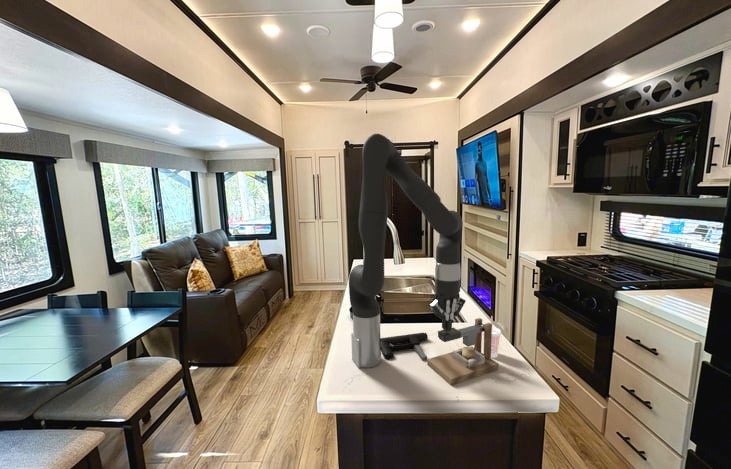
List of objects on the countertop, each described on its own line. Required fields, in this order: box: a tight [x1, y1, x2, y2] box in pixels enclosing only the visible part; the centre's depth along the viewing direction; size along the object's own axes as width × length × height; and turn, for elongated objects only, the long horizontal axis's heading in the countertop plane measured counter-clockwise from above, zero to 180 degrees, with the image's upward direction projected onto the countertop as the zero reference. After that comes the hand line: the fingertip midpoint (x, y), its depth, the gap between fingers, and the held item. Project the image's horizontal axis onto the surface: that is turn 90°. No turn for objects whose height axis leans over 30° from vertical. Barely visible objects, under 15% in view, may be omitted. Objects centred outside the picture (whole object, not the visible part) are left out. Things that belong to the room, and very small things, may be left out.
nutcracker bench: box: [426, 317, 500, 386], centre depth 97 cm, size 19×12×14 cm, turn 113°
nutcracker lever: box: [437, 322, 485, 347], centre depth 97 cm, size 18×4×6 cm, turn 113°
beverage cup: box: [482, 315, 502, 359], centre depth 105 cm, size 6×6×14 cm
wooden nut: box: [462, 346, 475, 360], centre depth 99 cm, size 4×4×4 cm
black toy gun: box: [380, 332, 429, 362], centre depth 110 cm, size 3×20×16 cm
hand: (446, 330), depth 94 cm, fingers closed
